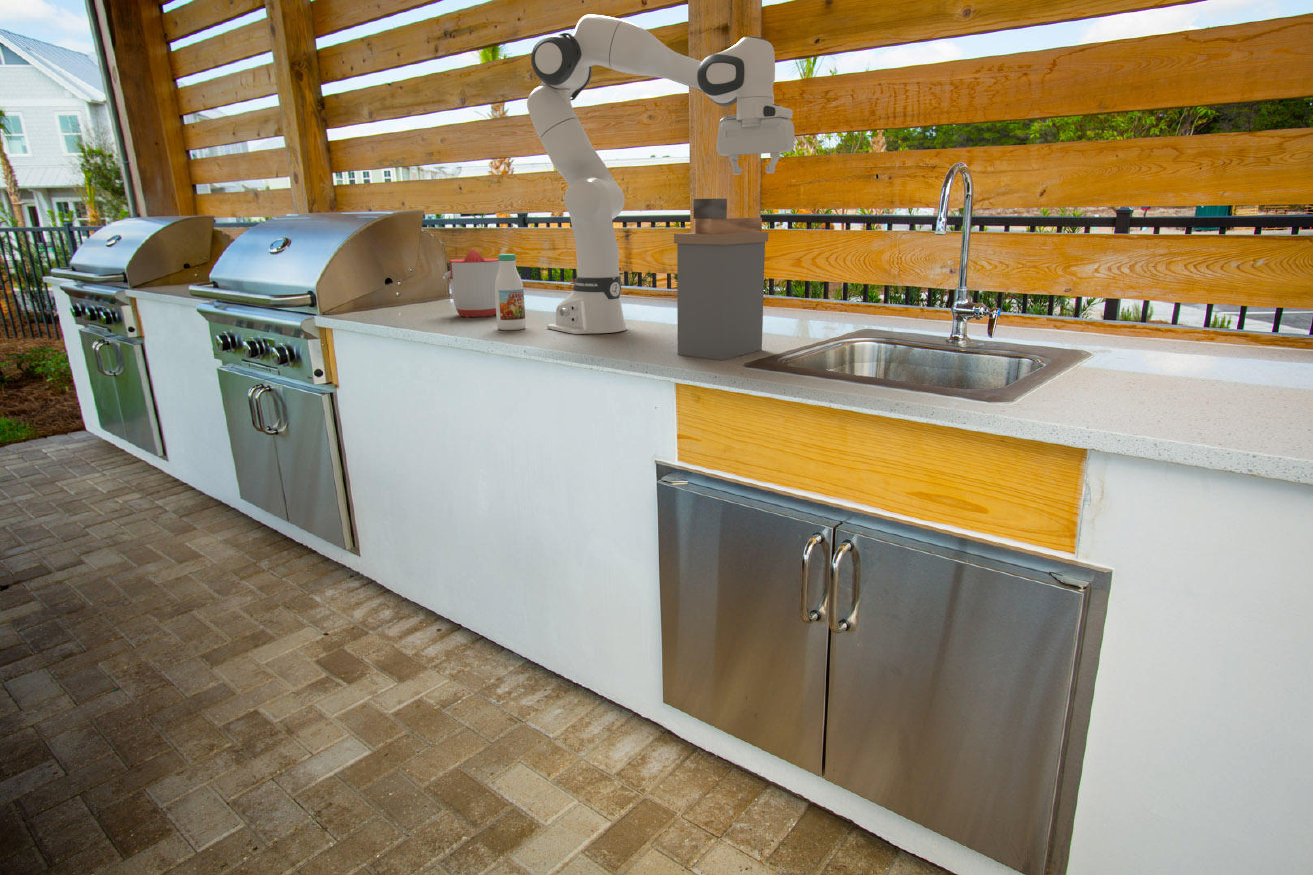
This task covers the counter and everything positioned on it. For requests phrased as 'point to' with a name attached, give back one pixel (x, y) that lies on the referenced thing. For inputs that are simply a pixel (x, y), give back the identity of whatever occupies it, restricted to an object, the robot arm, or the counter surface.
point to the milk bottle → (509, 295)
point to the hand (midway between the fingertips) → (753, 174)
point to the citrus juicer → (473, 284)
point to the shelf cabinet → (720, 293)
